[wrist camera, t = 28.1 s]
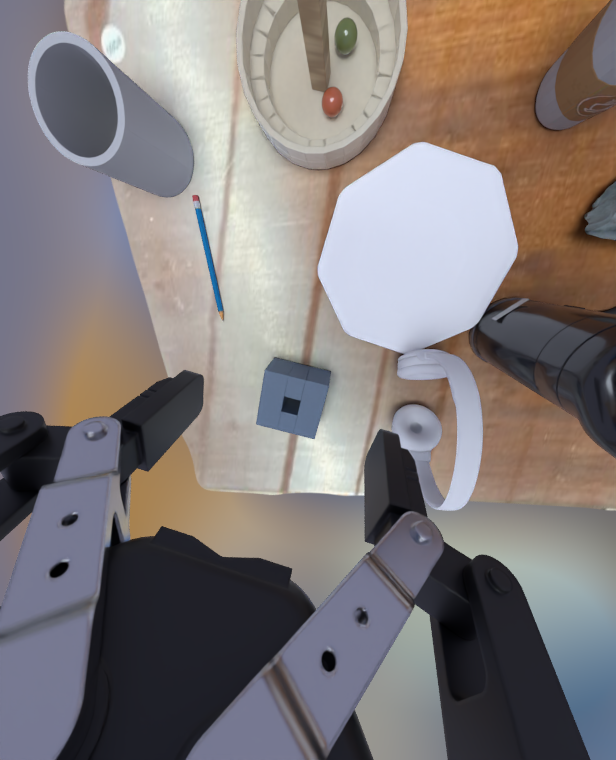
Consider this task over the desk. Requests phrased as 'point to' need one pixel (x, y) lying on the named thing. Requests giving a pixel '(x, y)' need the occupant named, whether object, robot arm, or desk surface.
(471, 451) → the headphones
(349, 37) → the bead olive
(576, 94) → the coffee cup
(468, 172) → the plate
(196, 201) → the pencil
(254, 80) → the bowl
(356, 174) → the desk surface
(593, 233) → the stone
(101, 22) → the desk surface
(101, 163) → the cup
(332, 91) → the bead terracotta
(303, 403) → the stand
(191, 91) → the desk surface
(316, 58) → the stick
